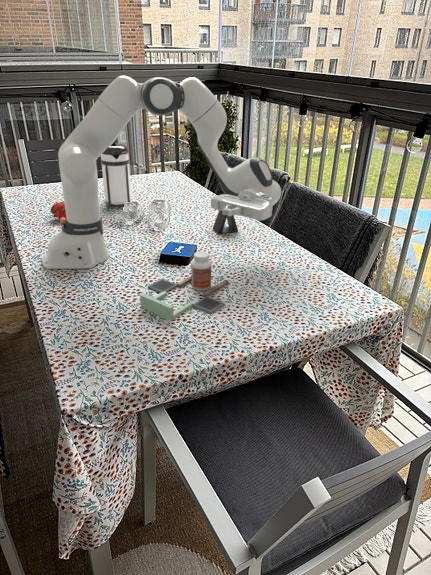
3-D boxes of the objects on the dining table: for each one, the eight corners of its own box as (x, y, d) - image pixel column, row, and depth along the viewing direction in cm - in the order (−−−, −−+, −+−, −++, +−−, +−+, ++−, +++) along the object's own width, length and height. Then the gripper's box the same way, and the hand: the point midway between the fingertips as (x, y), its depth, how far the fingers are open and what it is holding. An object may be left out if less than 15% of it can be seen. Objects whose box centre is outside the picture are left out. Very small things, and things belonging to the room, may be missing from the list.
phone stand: (218, 234, 180) (218, 205, 174) (212, 229, 185) (213, 201, 179) (238, 231, 183) (239, 203, 177) (232, 226, 188) (233, 199, 182)
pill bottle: (214, 288, 140) (215, 255, 135) (197, 292, 137) (198, 260, 132) (204, 280, 145) (204, 248, 139) (187, 284, 142) (187, 252, 136)
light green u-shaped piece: (164, 293, 136) (163, 282, 134) (193, 306, 130) (193, 294, 128) (140, 307, 129) (140, 295, 127) (170, 320, 123) (170, 308, 121)
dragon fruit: (49, 223, 190) (78, 224, 195) (51, 217, 182) (81, 218, 187) (48, 204, 191) (77, 205, 196) (50, 197, 183) (80, 199, 188)
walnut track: (200, 273, 149) (200, 270, 148) (228, 283, 143) (228, 280, 142) (177, 286, 140) (176, 283, 140) (205, 298, 134) (205, 295, 134)
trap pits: (162, 280, 144) (161, 278, 143) (224, 304, 131) (224, 302, 131) (147, 287, 139) (147, 285, 139) (210, 314, 126) (210, 312, 126)
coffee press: (142, 202, 213) (139, 137, 199) (119, 211, 201) (113, 142, 187) (115, 196, 221) (110, 132, 207) (91, 204, 209) (84, 137, 195)
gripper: (224, 187, 153) (200, 196, 143) (277, 199, 143) (254, 209, 133) (224, 205, 156) (199, 215, 146) (275, 217, 146) (252, 229, 136)
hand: (226, 212), depth 140 cm, fingers closed
